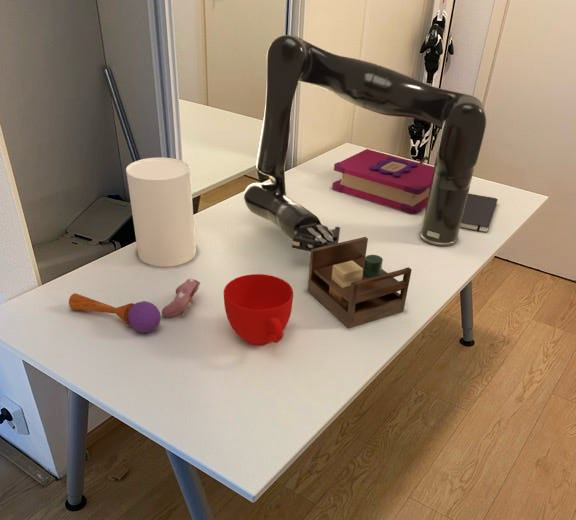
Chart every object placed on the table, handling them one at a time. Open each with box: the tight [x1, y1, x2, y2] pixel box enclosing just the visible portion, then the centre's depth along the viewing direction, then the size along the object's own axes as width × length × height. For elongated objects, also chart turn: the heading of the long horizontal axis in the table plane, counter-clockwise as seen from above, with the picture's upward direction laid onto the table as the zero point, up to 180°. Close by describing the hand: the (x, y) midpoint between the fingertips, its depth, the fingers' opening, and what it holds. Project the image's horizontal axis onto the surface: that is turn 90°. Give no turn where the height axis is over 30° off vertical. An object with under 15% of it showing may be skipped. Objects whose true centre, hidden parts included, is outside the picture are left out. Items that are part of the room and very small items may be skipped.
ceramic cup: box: [223, 273, 294, 346], centre depth 110 cm, size 13×17×10 cm
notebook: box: [460, 192, 499, 233], centre depth 162 cm, size 13×2×21 cm
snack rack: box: [307, 236, 413, 329], centre depth 122 cm, size 14×16×10 cm
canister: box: [125, 157, 197, 267], centre depth 132 cm, size 14×14×20 cm
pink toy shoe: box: [161, 277, 201, 319], centre depth 119 cm, size 10×5×7 cm, turn 169°
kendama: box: [68, 293, 162, 334], centre depth 115 cm, size 6×6×20 cm
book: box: [331, 148, 434, 215], centre depth 171 cm, size 21×28×8 cm
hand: (337, 253), depth 126 cm, fingers closed
